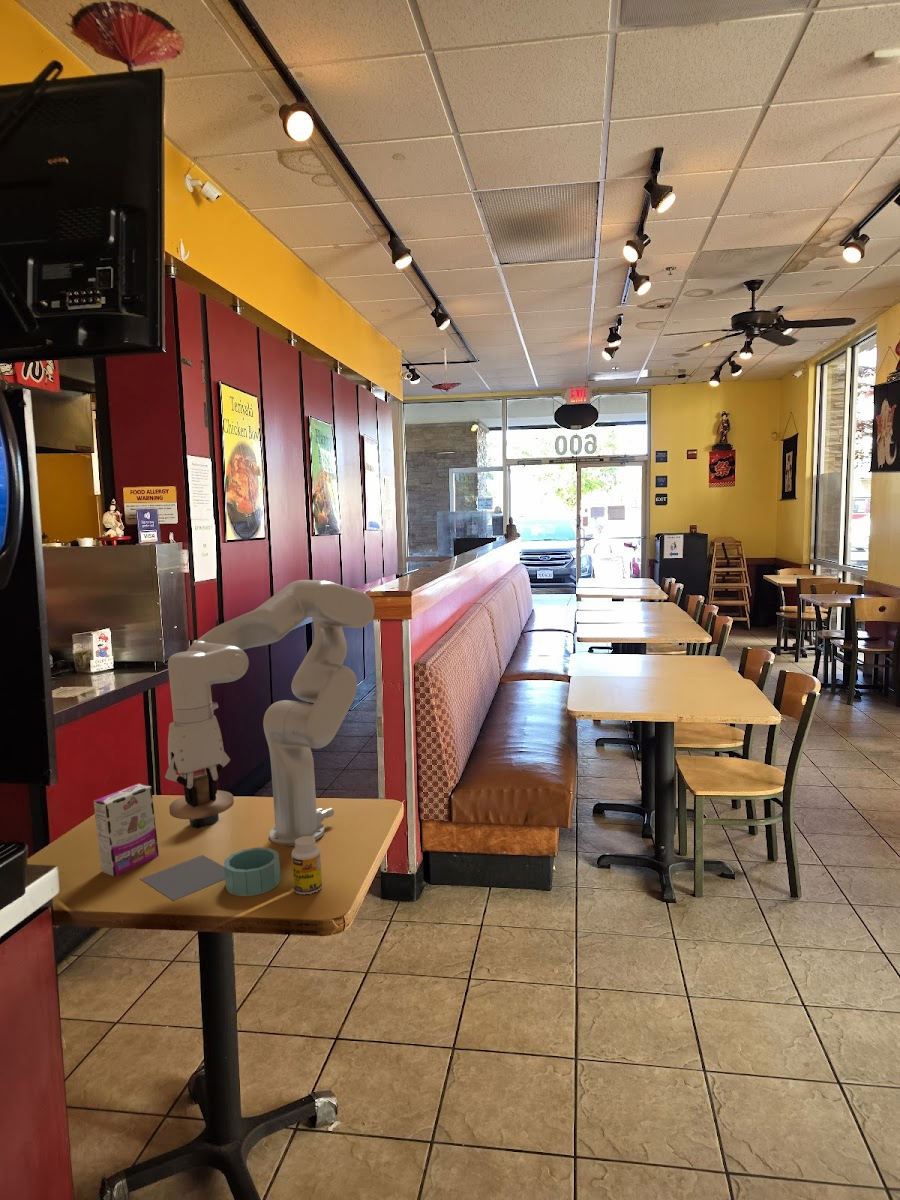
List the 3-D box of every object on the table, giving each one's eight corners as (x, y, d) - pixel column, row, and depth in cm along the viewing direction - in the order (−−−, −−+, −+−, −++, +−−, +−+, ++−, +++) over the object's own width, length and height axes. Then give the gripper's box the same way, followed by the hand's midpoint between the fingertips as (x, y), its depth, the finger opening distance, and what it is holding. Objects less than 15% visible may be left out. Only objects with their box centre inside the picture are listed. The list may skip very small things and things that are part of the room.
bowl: (261, 868, 164) (259, 843, 163) (291, 883, 157) (289, 857, 156) (216, 887, 156) (214, 861, 155) (245, 904, 149) (243, 877, 148)
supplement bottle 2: (289, 895, 152) (286, 845, 150) (299, 881, 157) (296, 833, 156) (317, 896, 151) (313, 846, 149) (326, 883, 156) (322, 834, 155)
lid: (215, 790, 166) (212, 763, 165) (245, 804, 157) (242, 775, 157) (158, 808, 157) (155, 780, 157) (187, 824, 149) (184, 794, 148)
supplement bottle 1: (207, 815, 194) (203, 769, 192) (224, 821, 190) (221, 773, 188) (183, 825, 188) (179, 777, 187) (201, 831, 184) (197, 782, 183)
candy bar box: (145, 853, 173) (138, 782, 171) (159, 857, 171) (153, 785, 169) (99, 874, 164) (92, 799, 162) (114, 879, 161) (106, 803, 159)
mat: (202, 857, 170) (202, 854, 170) (237, 876, 160) (237, 873, 160) (140, 881, 160) (140, 879, 160) (173, 903, 150) (173, 900, 150)
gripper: (221, 701, 163) (229, 785, 166) (144, 720, 152) (154, 810, 154) (239, 707, 158) (247, 793, 160) (161, 727, 146) (170, 819, 149)
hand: (201, 800), depth 157 cm, fingers closed on lid, 3 cm apart
